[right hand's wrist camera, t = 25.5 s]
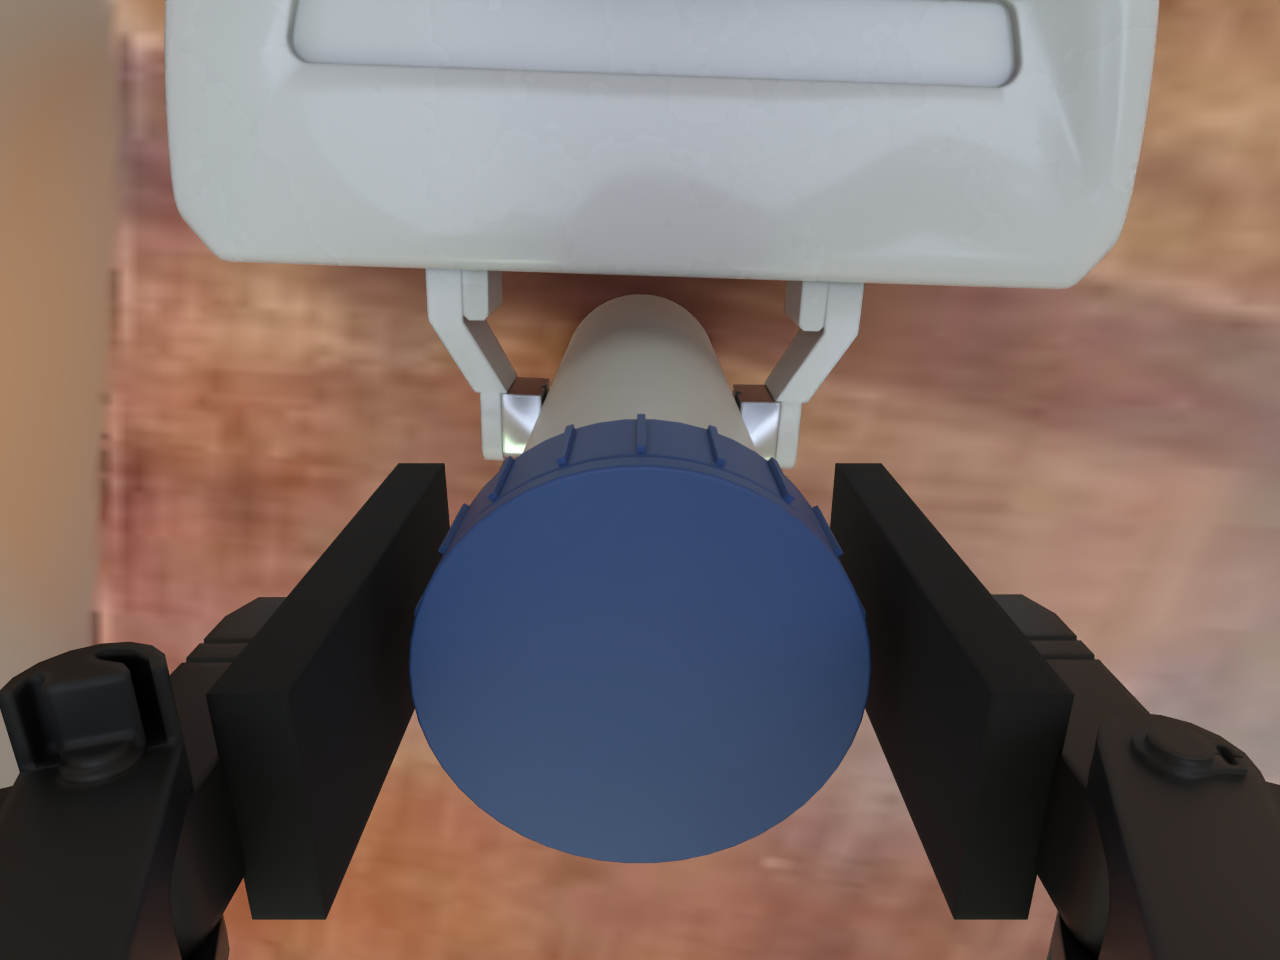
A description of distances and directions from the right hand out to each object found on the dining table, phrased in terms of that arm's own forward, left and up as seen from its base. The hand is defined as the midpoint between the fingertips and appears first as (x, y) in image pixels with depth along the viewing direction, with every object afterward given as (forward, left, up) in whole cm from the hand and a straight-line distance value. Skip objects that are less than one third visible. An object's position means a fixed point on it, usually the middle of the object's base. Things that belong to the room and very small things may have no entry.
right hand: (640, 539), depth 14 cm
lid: (0, 0, +4) cm, 4 cm away
